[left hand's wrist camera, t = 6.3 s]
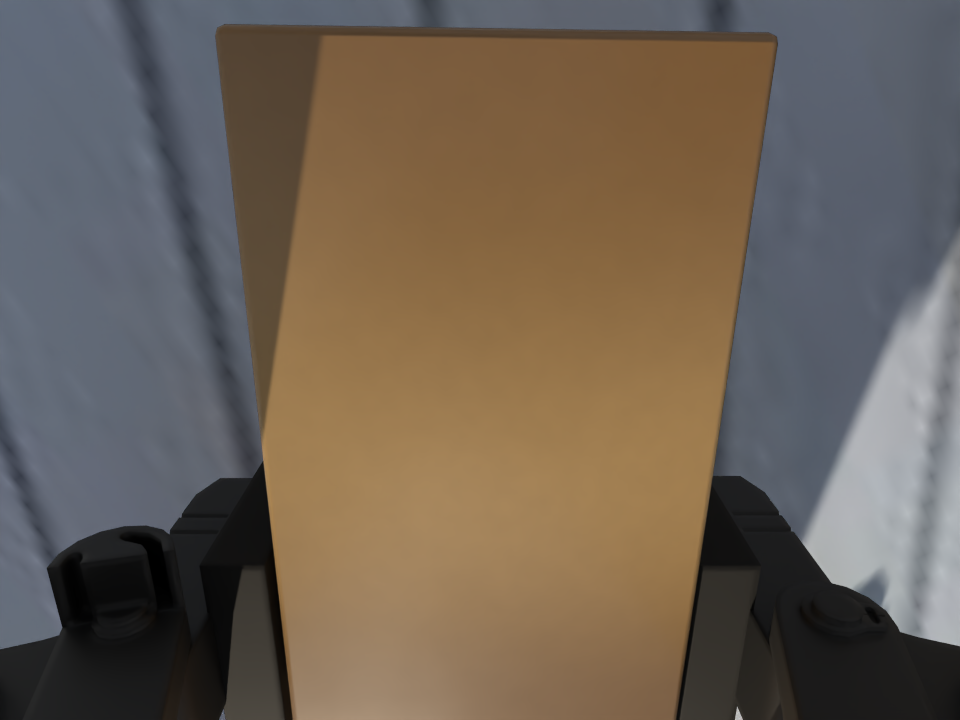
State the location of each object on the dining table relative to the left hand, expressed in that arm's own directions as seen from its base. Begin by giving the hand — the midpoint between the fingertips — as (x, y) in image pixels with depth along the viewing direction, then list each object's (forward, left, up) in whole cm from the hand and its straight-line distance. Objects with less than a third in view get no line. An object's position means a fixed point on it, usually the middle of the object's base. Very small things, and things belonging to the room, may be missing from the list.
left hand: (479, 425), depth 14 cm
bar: (-2, +27, -1) cm, 27 cm away
